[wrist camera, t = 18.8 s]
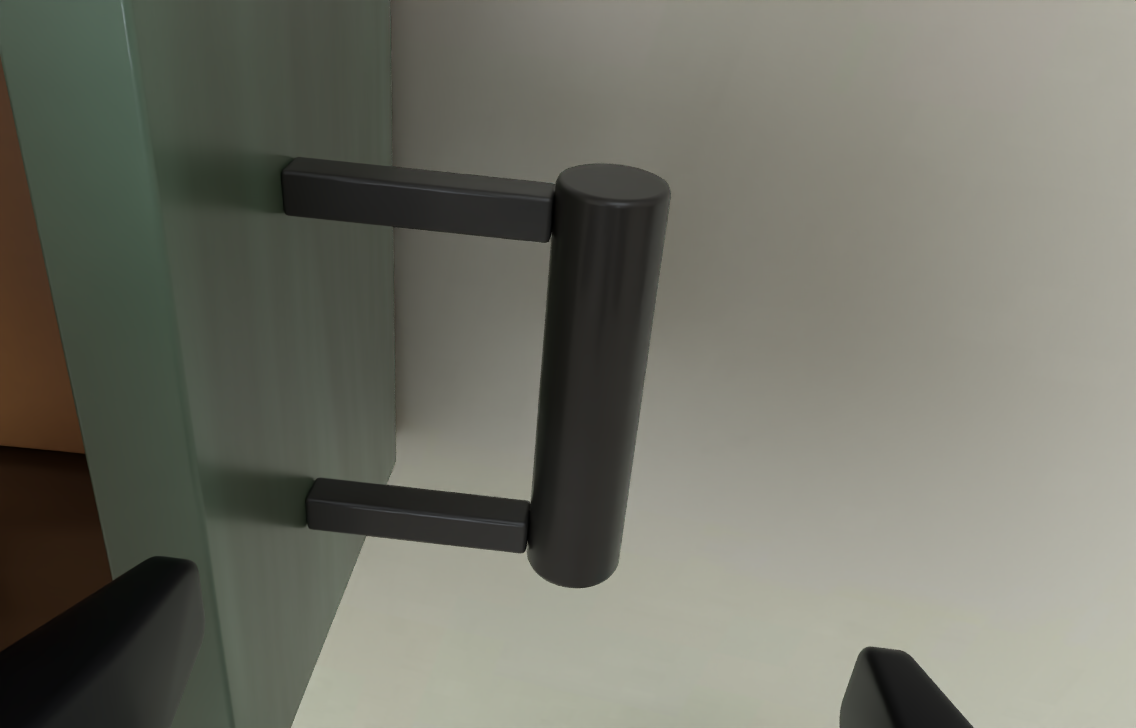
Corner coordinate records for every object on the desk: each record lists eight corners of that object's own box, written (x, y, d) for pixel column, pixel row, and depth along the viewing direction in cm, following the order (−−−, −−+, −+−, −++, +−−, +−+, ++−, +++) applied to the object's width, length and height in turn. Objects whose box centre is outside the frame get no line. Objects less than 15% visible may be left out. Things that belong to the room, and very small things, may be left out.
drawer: (689, -98, 15) (729, -5, 7) (612, 485, 21) (589, 880, 13) (-202, -185, 15) (-1054, -180, 8) (-33, 413, 21) (-422, 755, 13)
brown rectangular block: (29, 386, 19) (-33, 443, 17) (-83, -45, 15) (-178, -27, 13) (251, 407, 19) (210, 467, 17) (197, -22, 15) (138, 0, 13)
